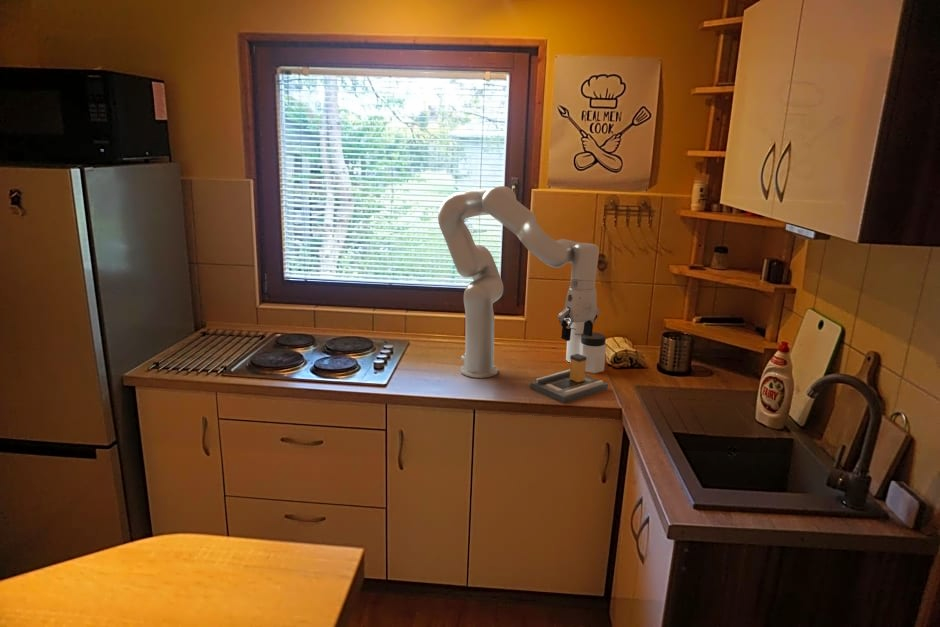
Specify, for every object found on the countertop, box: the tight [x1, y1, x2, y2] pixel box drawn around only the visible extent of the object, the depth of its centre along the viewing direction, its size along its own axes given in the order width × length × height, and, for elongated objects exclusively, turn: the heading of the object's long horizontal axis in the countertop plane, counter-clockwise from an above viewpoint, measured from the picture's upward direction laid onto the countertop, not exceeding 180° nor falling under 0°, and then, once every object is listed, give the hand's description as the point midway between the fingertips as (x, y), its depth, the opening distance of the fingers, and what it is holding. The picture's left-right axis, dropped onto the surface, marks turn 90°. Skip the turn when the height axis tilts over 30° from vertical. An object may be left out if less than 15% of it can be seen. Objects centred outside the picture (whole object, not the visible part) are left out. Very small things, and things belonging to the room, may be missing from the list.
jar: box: [579, 331, 607, 374], centre depth 214 cm, size 9×8×12 cm
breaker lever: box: [569, 354, 586, 382], centre depth 198 cm, size 4×3×8 cm
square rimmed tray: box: [535, 368, 604, 395], centre depth 197 cm, size 14×16×1 cm
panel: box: [529, 374, 609, 405], centre depth 198 cm, size 15×19×2 cm
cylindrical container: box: [565, 321, 586, 364], centre depth 221 cm, size 7×7×25 cm
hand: (576, 337), depth 196 cm, fingers open, 9 cm apart
